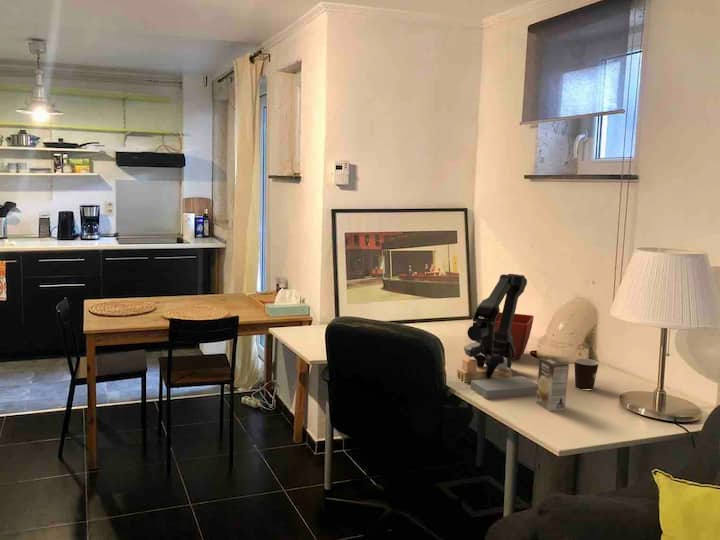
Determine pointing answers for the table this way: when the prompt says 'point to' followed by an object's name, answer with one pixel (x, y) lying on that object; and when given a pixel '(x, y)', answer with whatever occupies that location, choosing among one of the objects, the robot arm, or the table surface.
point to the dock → (504, 387)
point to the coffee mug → (585, 373)
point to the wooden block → (482, 374)
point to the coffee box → (552, 384)
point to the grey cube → (502, 365)
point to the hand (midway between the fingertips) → (484, 375)
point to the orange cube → (469, 365)
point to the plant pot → (518, 332)
